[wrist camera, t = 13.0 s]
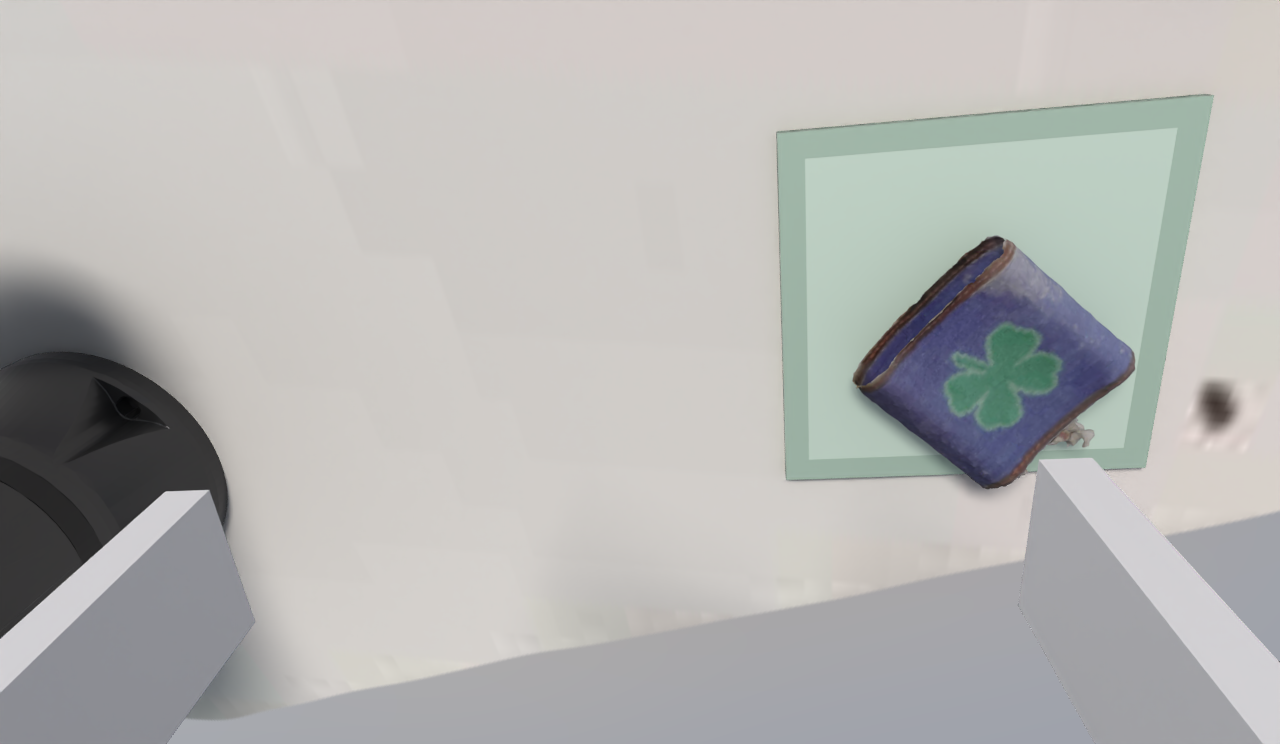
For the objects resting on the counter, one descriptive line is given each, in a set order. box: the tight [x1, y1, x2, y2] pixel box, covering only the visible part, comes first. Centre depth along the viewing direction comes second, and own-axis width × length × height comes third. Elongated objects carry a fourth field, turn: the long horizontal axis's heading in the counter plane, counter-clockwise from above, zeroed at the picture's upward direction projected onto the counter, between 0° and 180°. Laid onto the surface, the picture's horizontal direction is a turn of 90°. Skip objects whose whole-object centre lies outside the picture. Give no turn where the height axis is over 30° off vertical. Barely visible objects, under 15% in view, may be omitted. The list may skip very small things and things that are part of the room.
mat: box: [776, 94, 1214, 480], centre depth 38 cm, size 18×18×1 cm
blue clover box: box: [852, 235, 1135, 489], centre depth 37 cm, size 9×3×11 cm
